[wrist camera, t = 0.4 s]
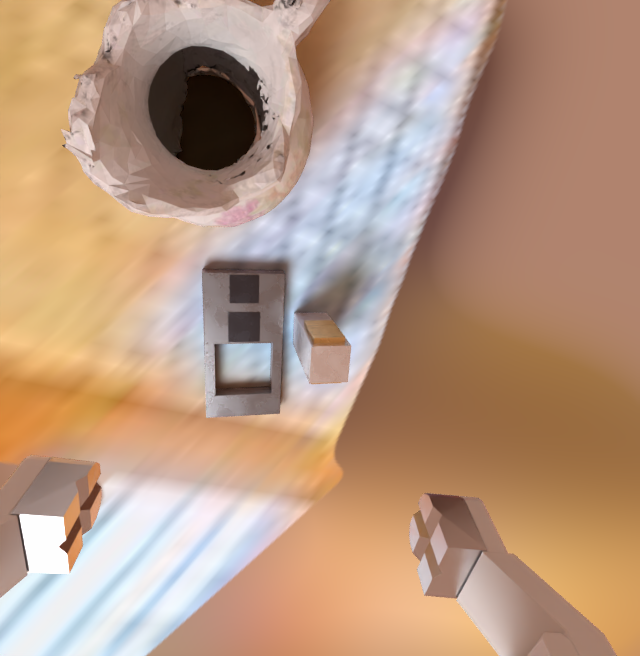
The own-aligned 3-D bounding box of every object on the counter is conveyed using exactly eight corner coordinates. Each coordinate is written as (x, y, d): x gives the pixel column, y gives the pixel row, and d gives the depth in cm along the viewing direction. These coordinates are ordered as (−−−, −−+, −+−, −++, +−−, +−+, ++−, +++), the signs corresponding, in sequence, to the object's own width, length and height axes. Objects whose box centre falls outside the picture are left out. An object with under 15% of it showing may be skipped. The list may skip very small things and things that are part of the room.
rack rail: (202, 269, 53) (202, 272, 51) (282, 270, 55) (285, 274, 53) (206, 410, 59) (206, 418, 57) (277, 406, 61) (279, 413, 60)
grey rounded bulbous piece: (193, -33, 43) (121, -297, 20) (346, 92, 49) (431, 3, 25) (95, 154, 47) (-62, 120, 24) (247, 251, 53) (242, 300, 29)
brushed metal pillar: (294, 308, 57) (311, 341, 46) (326, 308, 58) (351, 340, 47) (292, 347, 59) (308, 388, 48) (324, 346, 60) (347, 386, 49)
